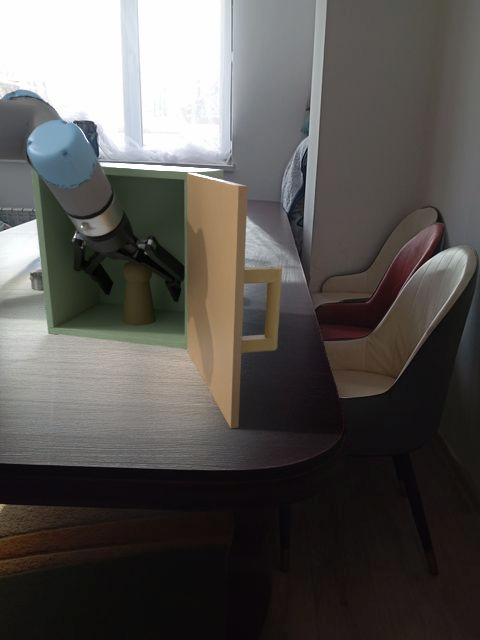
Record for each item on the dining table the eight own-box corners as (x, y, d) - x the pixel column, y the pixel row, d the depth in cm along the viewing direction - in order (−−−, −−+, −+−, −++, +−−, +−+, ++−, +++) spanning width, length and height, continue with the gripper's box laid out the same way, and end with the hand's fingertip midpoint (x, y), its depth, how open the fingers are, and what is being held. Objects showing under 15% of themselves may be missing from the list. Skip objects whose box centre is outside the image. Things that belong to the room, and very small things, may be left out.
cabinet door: (224, 348, 87) (228, 174, 77) (279, 422, 64) (295, 187, 54) (187, 351, 85) (187, 172, 75) (230, 428, 62) (238, 185, 52)
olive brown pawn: (160, 317, 98) (159, 260, 94) (148, 326, 93) (146, 266, 89) (130, 314, 99) (128, 257, 95) (117, 323, 94) (113, 263, 90)
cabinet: (191, 350, 86) (191, 171, 76) (47, 333, 90) (30, 161, 80) (220, 319, 103) (223, 169, 93) (97, 306, 107) (87, 161, 97)
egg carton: (29, 290, 116) (26, 272, 114) (33, 282, 122) (31, 265, 121) (79, 289, 118) (77, 272, 117) (80, 281, 125) (79, 265, 124)
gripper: (16, 232, 78) (75, 302, 97) (173, 246, 74) (202, 316, 93) (33, 193, 81) (88, 269, 100) (185, 205, 77) (211, 281, 96)
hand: (143, 292), depth 96 cm, fingers open, 13 cm apart
